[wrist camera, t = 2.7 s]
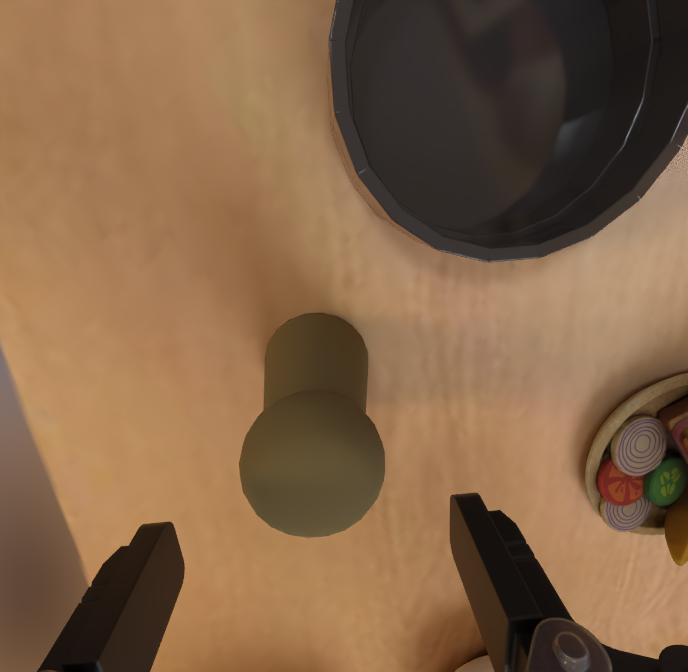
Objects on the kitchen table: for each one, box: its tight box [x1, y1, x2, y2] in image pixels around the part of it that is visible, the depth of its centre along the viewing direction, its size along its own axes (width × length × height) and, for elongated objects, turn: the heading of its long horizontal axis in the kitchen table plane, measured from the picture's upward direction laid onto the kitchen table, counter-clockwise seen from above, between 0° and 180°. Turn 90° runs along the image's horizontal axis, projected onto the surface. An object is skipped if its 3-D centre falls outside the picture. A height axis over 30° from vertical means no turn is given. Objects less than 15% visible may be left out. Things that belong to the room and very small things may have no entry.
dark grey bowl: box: [327, 0, 688, 262], centre depth 16 cm, size 14×14×5 cm
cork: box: [239, 313, 385, 538], centre depth 18 cm, size 6×6×11 cm
